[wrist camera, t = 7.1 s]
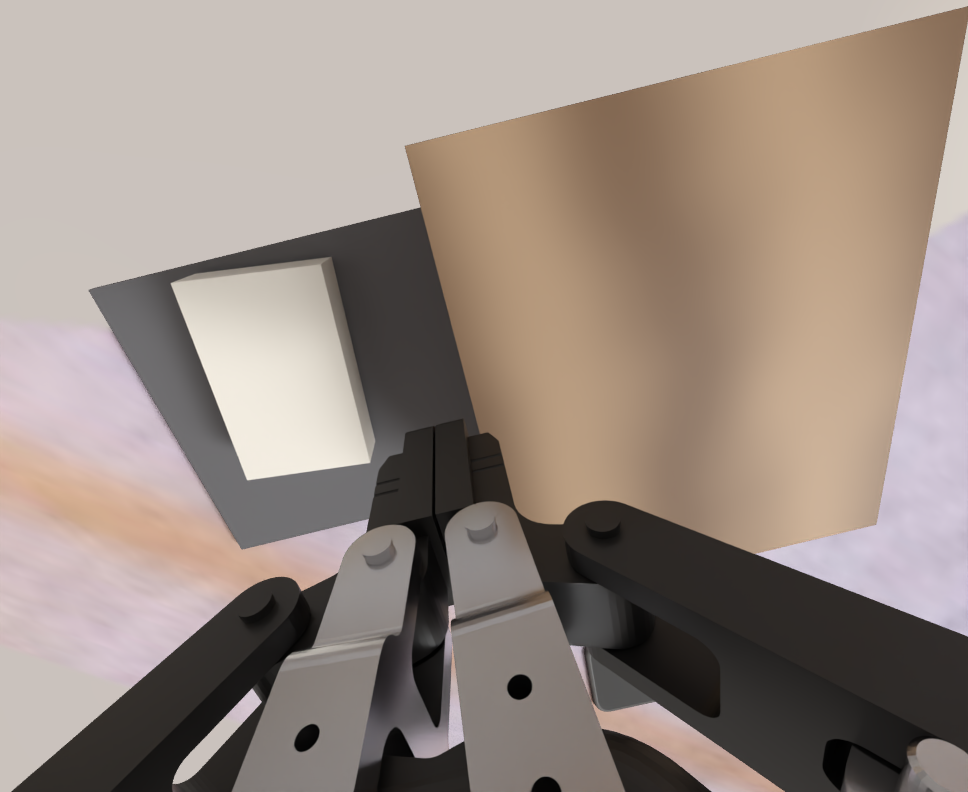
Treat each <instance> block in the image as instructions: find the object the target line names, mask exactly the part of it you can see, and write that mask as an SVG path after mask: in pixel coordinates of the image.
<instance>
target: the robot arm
mask: <svg viewBox="0 0 968 792" xmlns="http://www.w3.org/2000/svg"><path fill="white" fill-rule="evenodd" d="M376 485H377V486H375V491H374V498H373V501H372V506H371V511H370V517H369V522H368V527H367V532H366V533H365V534H364V535H362V536H361V537H359V538H358V539H357V540H356V541H355V542H354V543H352V545H351V546H350V547H349V548H348V550H347V551H346V553H345V555H344V557H343V560H342V563H341V566H340V569H339V572H338V573H337V574H335V575H334V576H332V577H330V578H328V579H326V580H324V581H322V582H320V583H318V584H316V585H314V586H312V587H310V588H308V589H306V590H304V591H302V592H301V590H300V588H299V586H298V584H297V583H296V582H295V581H294V580H293V579H291V578H288V577H275V578H270V579H267V580H264V581H262V582H259V583H257V584H255V585H253V586H252V587H250V588H248V589H247V590H245V591H244V592H243V593H241V594H240V595H239V596H237V597H236V598H235V599H234V600H233V601H232V602H231V603H229V604H228V605H227V606H226V607H225V608H224V609H222V610H221V611H220V612H219V613H218V614H217V615H215V616H214V617H213V618H212V619H211V620H210V621H209V622H207V623H206V624H205V625H204V626H203V627H202V628H200V629H199V630H198V631H197V632H196V633H195V634H193V635H192V636H191V637H190V638H189V639H188V640H186V641H185V642H184V643H183V644H182V645H181V646H180V647H178V648H177V649H176V650H175V651H174V652H173V653H171V654H170V655H169V656H168V657H167V658H166V659H164V660H163V661H162V662H161V663H160V664H159V665H158V666H156V667H155V668H154V669H153V670H152V671H151V672H149V673H148V674H147V675H146V676H145V677H144V678H142V679H141V680H140V681H139V682H138V683H137V684H135V685H134V686H133V687H132V688H131V689H130V690H129V691H127V692H126V693H125V694H124V695H123V696H122V697H120V698H119V699H118V700H117V701H116V702H115V703H114V704H112V705H111V706H110V707H109V708H108V709H107V710H105V711H104V712H103V713H102V714H101V715H100V716H99V717H97V718H96V719H95V720H94V721H93V722H91V723H90V724H89V725H88V726H87V727H86V728H85V729H83V730H82V731H81V732H80V733H79V734H78V735H76V736H75V737H74V738H73V739H72V740H71V741H69V742H68V743H67V744H66V745H65V746H64V747H63V748H61V749H60V750H59V751H58V752H57V753H56V754H55V755H53V756H52V757H51V758H50V759H49V760H47V761H46V762H45V763H44V764H43V765H42V766H41V767H40V768H38V769H37V770H36V771H35V772H34V773H32V774H31V775H30V776H29V777H28V778H27V779H26V780H24V781H23V782H22V783H21V784H20V785H19V786H17V787H16V788H15V789H14V790H13V791H12V792H711V791H710V790H709V789H707V788H706V787H705V786H704V785H703V784H701V783H700V782H699V781H698V780H696V779H695V778H694V777H693V776H692V775H690V774H689V773H688V772H687V771H685V770H684V769H683V768H682V767H680V766H679V765H678V764H677V763H675V762H674V761H673V760H671V759H670V758H668V757H667V756H665V755H664V754H662V753H660V752H659V751H657V750H656V749H654V748H653V747H651V746H649V745H647V744H645V743H643V742H640V741H638V740H636V739H634V738H632V737H629V736H626V735H623V734H620V733H617V732H614V731H609V730H604V729H601V726H600V724H599V721H598V719H597V716H596V713H595V711H594V708H593V705H592V703H591V700H590V698H589V695H588V692H587V690H586V687H585V684H584V682H583V679H582V676H581V674H580V671H579V669H578V666H577V663H576V661H575V658H574V655H573V653H572V650H571V647H570V645H574V646H585V647H586V649H587V650H588V652H589V653H590V655H591V656H592V657H593V658H594V659H595V660H597V661H598V662H599V663H600V664H602V665H603V666H605V667H606V668H608V669H609V670H611V671H612V672H613V673H615V674H616V675H618V676H619V677H621V678H622V679H624V680H625V681H626V682H628V683H629V684H631V685H632V686H634V687H635V688H637V689H638V690H639V691H641V692H642V693H644V694H645V695H647V696H648V697H649V698H651V699H652V700H654V701H655V702H657V703H658V704H660V705H661V706H662V707H664V708H665V709H667V710H668V711H670V712H671V713H673V714H674V715H675V716H677V717H678V718H680V719H681V720H683V721H684V722H686V723H687V724H688V725H690V726H691V727H693V728H694V729H696V730H697V731H699V732H700V733H701V734H703V735H704V736H706V737H707V738H709V739H710V740H712V741H713V742H714V743H716V744H717V745H719V746H720V747H722V748H723V749H725V750H726V751H727V752H729V753H730V754H732V755H733V756H735V757H736V758H738V759H739V760H740V761H742V762H743V763H745V764H746V765H748V766H749V767H750V768H752V769H753V770H755V771H756V772H758V773H759V774H761V775H762V776H763V777H765V778H766V779H768V780H769V781H771V782H772V783H774V784H775V785H776V786H778V787H779V788H781V789H782V790H784V791H785V792H968V637H967V636H965V635H962V634H960V633H957V632H955V631H952V630H949V629H947V628H944V627H942V626H939V625H936V624H934V623H931V622H929V621H926V620H924V619H921V618H918V617H916V616H913V615H911V614H908V613H906V612H903V611H900V610H898V609H895V608H893V607H890V606H887V605H885V604H882V603H880V602H877V601H875V600H872V599H869V598H867V597H864V596H862V595H859V594H856V593H854V592H851V591H849V590H846V589H844V588H841V587H838V586H836V585H833V584H831V583H828V582H826V581H823V580H820V579H818V578H815V577H813V576H810V575H807V574H805V573H802V572H800V571H797V570H795V569H792V568H789V567H787V566H784V565H782V564H779V563H777V562H774V561H771V560H769V559H766V558H764V557H761V556H758V555H756V554H753V553H751V552H748V551H746V550H743V549H740V548H738V547H735V546H733V545H730V544H727V543H725V542H722V541H720V540H717V539H715V538H712V537H709V536H707V535H704V534H702V533H699V532H697V531H694V530H691V529H689V528H686V527H684V526H681V525H678V524H676V523H673V522H671V521H668V520H666V519H663V518H660V517H658V516H655V515H653V514H650V513H648V512H645V511H642V510H640V509H637V508H635V507H632V506H629V505H627V504H624V503H621V502H617V501H609V500H602V501H593V502H589V503H586V504H584V505H581V506H579V507H577V508H576V509H574V510H573V511H572V512H571V513H570V514H569V515H568V516H567V518H566V519H565V521H564V524H543V523H537V522H534V521H531V520H529V519H527V518H525V517H524V516H522V515H521V514H520V513H519V512H518V510H517V509H516V507H515V505H514V501H513V497H512V493H511V489H510V485H509V480H508V476H507V472H506V468H505V464H504V460H503V456H502V452H501V448H500V444H499V440H497V439H496V438H495V437H494V436H492V435H491V434H490V433H488V432H486V433H482V434H478V435H474V436H470V437H469V434H468V431H467V427H466V424H465V421H464V418H463V419H459V420H454V421H450V422H446V423H442V424H438V425H436V426H435V427H434V426H430V427H426V428H422V429H418V430H414V431H410V432H406V433H405V439H404V447H403V453H400V454H396V455H392V456H389V457H388V458H387V460H386V461H385V462H384V464H383V465H382V466H381V468H380V469H379V471H378V476H377V481H376ZM451 605H454V607H455V615H456V619H453V620H452V621H451V632H450V630H449V627H448V624H449V616H448V606H451ZM451 634H452V636H451ZM452 643H453V651H454V659H455V668H456V676H457V684H458V692H459V701H460V709H461V717H462V725H463V734H464V742H462V743H460V744H458V745H456V746H455V747H453V748H451V749H449V742H448V730H449V707H450V685H451V662H452ZM252 688H253V690H254V691H255V693H256V694H257V696H258V697H259V698H260V700H261V701H262V703H261V704H260V705H259V706H258V707H257V708H256V709H255V711H254V712H253V713H252V714H251V715H250V716H249V717H248V718H247V719H246V720H245V721H244V722H243V724H242V725H241V726H240V727H239V728H238V729H237V730H236V731H235V732H234V733H233V735H232V736H231V737H230V738H229V739H228V740H227V741H226V742H225V743H224V744H223V745H222V746H221V748H220V749H219V750H218V751H217V752H216V753H215V754H214V755H213V756H212V757H211V759H209V761H208V762H207V763H206V764H205V765H204V766H203V767H202V768H201V769H200V770H199V771H198V772H197V773H196V774H195V775H194V776H193V777H192V778H190V779H188V780H187V781H185V782H182V783H180V784H172V783H173V779H174V776H175V773H176V771H177V769H178V768H179V766H180V764H181V763H182V762H183V760H184V759H185V758H186V757H187V756H188V755H189V753H190V752H191V751H192V750H193V749H194V748H195V747H196V746H197V745H198V744H199V743H200V742H201V741H202V740H203V739H204V738H205V737H206V736H207V735H208V734H209V733H210V732H211V731H212V729H213V728H214V727H215V726H216V725H217V724H218V723H219V722H220V721H221V720H222V719H223V718H224V717H225V716H226V715H227V714H228V713H229V712H230V711H231V710H232V709H233V708H234V707H235V705H236V704H237V703H238V702H239V701H240V700H241V699H242V698H243V697H244V696H245V695H246V694H247V693H248V692H249V691H250V690H251V689H252Z"/></svg>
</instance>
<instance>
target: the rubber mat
mask: <svg viewBox="0 0 968 792" xmlns="http://www.w3.org/2000/svg"><path fill="white" fill-rule="evenodd" d="M326 257H332V261H333V266H334V270H335V274H336V278H337V282H338V287H339V291H340V295H341V299H342V303H343V308H344V312H345V316H346V320H347V324H348V329H349V333H350V337H351V341H352V345H353V350H354V354H355V358H356V362H357V366H358V371H359V375H360V379H361V383H362V387H363V392H364V396H365V400H366V404H367V408H368V413H369V417H370V421H371V425H372V429H373V434H374V438H375V444H374V449H373V453H372V457H371V461H370V463H366V464H359V465H352V466H345V467H338V468H331V469H324V470H317V471H310V472H303V473H296V474H289V475H282V476H275V477H268V478H261V479H254V480H247V479H246V476H245V474H244V471H243V468H242V466H241V463H240V461H239V458H238V456H237V453H236V450H235V448H234V445H233V443H232V440H231V438H230V435H229V432H228V430H227V427H226V425H225V422H224V420H223V417H222V414H221V412H220V409H219V407H218V404H217V402H216V399H215V396H214V394H213V391H212V389H211V386H210V384H209V381H208V378H207V376H206V373H205V371H204V368H203V366H202V363H201V360H200V358H199V355H198V353H197V350H196V348H195V345H194V342H193V340H192V337H191V335H190V332H189V330H188V327H187V324H186V322H185V319H184V317H183V314H182V312H181V309H180V306H179V304H178V301H177V299H176V296H175V293H174V291H173V288H172V286H171V283H172V282H175V281H177V280H180V279H183V278H185V277H188V276H191V275H193V274H197V273H205V272H213V271H221V270H229V269H237V268H245V267H253V266H261V265H270V264H278V263H286V262H294V261H302V260H310V259H318V258H326ZM89 292H90V294H91V295H92V297H93V299H94V300H95V302H96V304H97V305H98V307H99V309H100V311H101V312H102V314H103V315H104V317H105V319H106V321H107V322H108V324H109V326H110V328H111V329H112V331H113V333H114V334H115V336H116V338H117V339H118V341H119V343H120V344H121V346H122V348H123V350H124V351H125V353H126V355H127V356H128V358H129V360H130V361H131V363H132V365H133V366H134V368H135V370H136V372H137V373H138V375H139V377H140V378H141V380H142V382H143V383H144V385H145V387H146V388H147V390H148V392H149V394H150V395H151V397H152V399H153V400H154V402H155V404H156V405H157V407H158V409H159V410H160V412H161V414H162V416H163V417H164V419H165V421H166V422H167V424H168V426H169V427H170V429H171V431H172V432H173V434H174V436H175V438H176V439H177V441H178V443H179V444H180V446H181V448H182V449H183V451H184V453H185V454H186V456H187V458H188V460H189V461H190V463H191V465H192V466H193V468H194V470H195V471H196V473H197V475H198V476H199V478H200V480H201V482H202V483H203V485H204V487H205V488H206V490H207V492H208V493H209V495H210V497H211V498H212V500H213V502H214V504H215V505H216V507H217V509H218V510H219V512H220V514H221V515H222V517H223V519H224V520H225V522H226V524H227V525H228V527H229V529H230V531H231V532H232V534H233V536H234V537H235V539H236V541H237V542H238V544H239V546H240V547H241V549H246V548H250V547H254V546H259V545H263V544H267V543H271V542H275V541H279V540H283V539H287V538H292V537H296V536H300V535H304V534H308V533H312V532H316V531H320V530H325V529H329V528H333V527H337V526H341V525H345V524H349V523H353V522H358V521H362V520H366V519H369V517H370V511H371V506H372V501H373V498H374V491H375V486H377V485H376V481H377V476H378V471H379V469H380V468H381V466H382V465H383V464H384V462H385V461H386V460H387V458H388V457H389V456H392V455H396V454H400V453H403V447H404V439H405V433H406V432H410V431H414V430H418V429H422V428H426V427H430V426H434V427H435V426H436V425H438V424H442V423H446V422H450V421H454V420H459V419H463V418H464V421H465V424H466V427H467V431H468V434H469V437H470V436H474V435H478V434H480V432H479V428H478V424H477V420H476V417H475V413H474V409H473V405H472V401H471V397H470V394H469V390H468V386H467V382H466V378H465V375H464V371H463V367H462V363H461V359H460V355H459V352H458V348H457V344H456V340H455V336H454V332H453V329H452V325H451V321H450V317H449V313H448V310H447V306H446V302H445V298H444V294H443V290H442V287H441V283H440V279H439V275H438V271H437V267H436V264H435V260H434V256H433V252H432V248H431V245H430V241H429V237H428V233H427V229H426V225H425V222H424V218H423V214H422V210H421V208H417V209H413V210H409V211H405V212H401V213H397V214H393V215H388V216H384V217H380V218H377V219H372V220H368V221H364V222H360V223H356V224H352V225H348V226H344V227H340V228H336V229H332V230H328V231H324V232H320V233H316V234H311V235H307V236H303V237H299V238H295V239H292V240H287V241H283V242H279V243H275V244H271V245H267V246H263V247H259V248H255V249H251V250H247V251H243V252H239V253H235V254H231V255H226V256H222V257H219V258H214V259H210V260H206V261H202V262H198V263H194V264H190V265H186V266H182V267H178V268H174V269H170V270H166V271H162V272H158V273H154V274H150V275H146V276H141V277H137V278H134V279H129V280H125V281H121V282H117V283H113V284H109V285H105V286H101V287H97V288H93V289H90V290H89Z"/></svg>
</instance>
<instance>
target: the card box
mask: <svg viewBox="0 0 968 792" xmlns="http://www.w3.org/2000/svg"><path fill="white" fill-rule="evenodd" d="M171 286H172V288H173V291H174V293H175V296H176V299H177V301H178V304H179V306H180V309H181V312H182V314H183V317H184V319H185V322H186V324H187V327H188V330H189V332H190V335H191V337H192V340H193V342H194V345H195V348H196V350H197V353H198V355H199V358H200V360H201V363H202V366H203V368H204V371H205V373H206V376H207V378H208V381H209V384H210V386H211V389H212V391H213V394H214V396H215V399H216V402H217V404H218V407H219V409H220V412H221V414H222V417H223V420H224V422H225V425H226V427H227V430H228V432H229V435H230V438H231V440H232V443H233V445H234V448H235V450H236V453H237V456H238V458H239V461H240V463H241V466H242V468H243V471H244V474H245V476H246V479H247V480H254V479H261V478H268V477H275V476H282V475H289V474H296V473H303V472H310V471H317V470H324V469H331V468H338V467H345V466H352V465H359V464H366V463H370V461H371V457H372V453H373V449H374V444H375V438H374V434H373V429H372V425H371V421H370V417H369V413H368V408H367V404H366V400H365V396H364V392H363V387H362V383H361V379H360V375H359V371H358V366H357V362H356V358H355V354H354V350H353V345H352V341H351V337H350V333H349V329H348V324H347V320H346V316H345V312H344V308H343V303H342V299H341V295H340V291H339V287H338V282H337V278H336V274H335V270H334V266H333V261H332V257H326V258H318V259H310V260H302V261H294V262H286V263H278V264H270V265H261V266H253V267H245V268H237V269H229V270H221V271H213V272H205V273H197V274H193V275H191V276H188V277H185V278H183V279H180V280H177V281H175V282H172V283H171Z"/></svg>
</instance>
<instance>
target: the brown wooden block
mask: <svg viewBox="0 0 968 792" xmlns="http://www.w3.org/2000/svg"><path fill="white" fill-rule="evenodd" d="M967 22H968V6H967V7H964V8H960V9H955V10H952V11H947V12H943V13H939V14H935V15H931V16H927V17H923V18H919V19H915V20H911V21H907V22H903V23H899V24H895V25H891V26H887V27H883V28H879V29H875V30H871V31H867V32H863V33H859V34H855V35H850V36H846V37H842V38H839V39H835V40H830V41H826V42H822V43H818V44H814V45H811V46H806V47H802V48H798V49H794V50H790V51H786V52H782V53H778V54H774V55H770V56H766V57H762V58H758V59H754V60H750V61H746V62H742V63H738V64H734V65H729V66H725V67H721V68H717V69H713V70H709V71H705V72H701V73H697V74H694V75H689V76H685V77H681V78H677V79H673V80H669V81H665V82H661V83H657V84H653V85H649V86H645V87H641V88H637V89H633V90H629V91H625V92H621V93H617V94H612V95H609V96H604V97H601V98H597V99H592V100H588V101H584V102H580V103H576V104H572V105H568V106H565V107H560V108H557V109H552V110H548V111H544V112H540V113H536V114H532V115H528V116H524V117H520V118H516V119H512V120H508V121H504V122H500V123H496V124H492V125H488V126H483V127H479V128H475V129H471V130H467V131H463V132H459V133H455V134H451V135H448V136H443V137H439V138H435V139H431V140H427V141H423V142H419V143H415V144H411V145H407V146H405V149H406V153H407V156H408V160H409V164H410V168H411V172H412V176H413V180H414V183H415V187H416V191H417V195H418V198H419V202H420V206H421V210H422V214H423V218H424V222H425V225H426V229H427V233H428V237H429V241H430V245H431V248H432V252H433V256H434V260H435V264H436V267H437V271H438V275H439V279H440V283H441V287H442V290H443V294H444V298H445V302H446V306H447V310H448V313H449V317H450V321H451V325H452V329H453V332H454V336H455V340H456V344H457V348H458V352H459V355H460V359H461V363H462V367H463V371H464V375H465V378H466V382H467V386H468V390H469V394H470V397H471V401H472V405H473V409H474V413H475V417H476V420H477V424H478V428H479V432H480V434H482V433H486V432H488V433H490V434H491V435H492V436H494V437H495V438H496V439H497V440H499V444H500V448H501V452H502V456H503V460H504V464H505V468H506V472H507V476H508V480H509V485H510V489H511V493H512V497H513V501H514V505H515V507H516V509H517V510H518V512H519V513H520V514H521V515H522V516H524V517H525V518H527V519H529V520H531V521H534V522H537V523H543V524H564V521H565V519H566V518H567V516H568V515H569V514H570V513H571V512H572V511H573V510H574V509H576V508H577V507H579V506H581V505H584V504H586V503H589V502H593V501H602V500H609V501H617V502H621V503H624V504H627V505H629V506H632V507H635V508H637V509H640V510H642V511H645V512H648V513H650V514H653V515H655V516H658V517H660V518H663V519H666V520H668V521H671V522H673V523H676V524H678V525H681V526H684V527H686V528H689V529H691V530H694V531H697V532H699V533H702V534H704V535H707V536H709V537H712V538H715V539H717V540H720V541H722V542H725V543H727V544H730V545H733V546H735V547H738V548H740V549H743V550H746V551H748V552H751V553H753V554H756V553H760V552H764V551H768V550H773V549H777V548H781V547H785V546H789V545H793V544H798V543H802V542H806V541H810V540H814V539H818V538H823V537H827V536H831V535H835V534H839V533H843V532H847V531H852V530H856V529H860V528H864V527H868V526H872V525H876V523H877V518H878V512H879V507H880V501H881V496H882V490H883V485H884V479H885V474H886V468H887V463H888V457H889V452H890V446H891V441H892V435H893V430H894V424H895V419H896V413H897V408H898V402H899V397H900V391H901V386H902V380H903V375H904V369H905V364H906V358H907V353H908V347H909V342H910V336H911V331H912V325H913V320H914V314H915V309H916V303H917V298H918V292H919V287H920V281H921V276H922V270H923V265H924V259H925V254H926V248H927V243H928V237H929V232H930V226H931V221H932V215H933V209H934V204H935V198H936V193H937V187H938V182H939V176H940V171H941V165H942V160H943V154H944V149H945V143H946V138H947V132H948V127H949V121H950V115H951V110H952V105H953V99H954V94H955V88H956V82H957V77H958V72H959V66H960V61H961V54H962V50H963V44H964V39H965V33H966V28H967Z"/></svg>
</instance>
